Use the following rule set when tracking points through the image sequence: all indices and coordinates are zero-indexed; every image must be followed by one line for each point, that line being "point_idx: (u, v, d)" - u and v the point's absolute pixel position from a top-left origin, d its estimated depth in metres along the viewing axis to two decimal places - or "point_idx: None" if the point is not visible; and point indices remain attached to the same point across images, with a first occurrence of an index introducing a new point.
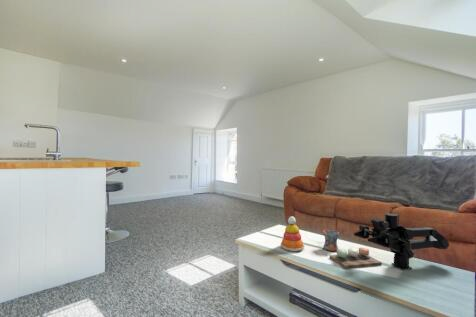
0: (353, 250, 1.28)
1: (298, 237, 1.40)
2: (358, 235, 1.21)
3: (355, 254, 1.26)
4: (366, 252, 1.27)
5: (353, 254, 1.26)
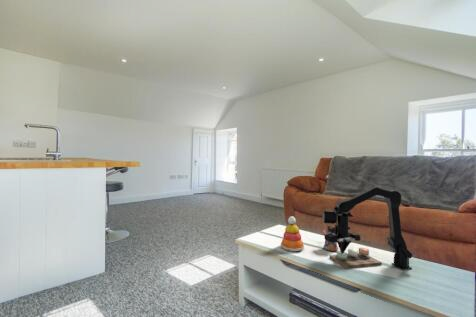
0: (353, 250, 1.28)
1: (298, 237, 1.40)
2: None
3: (355, 254, 1.26)
4: (366, 252, 1.27)
5: (353, 254, 1.26)
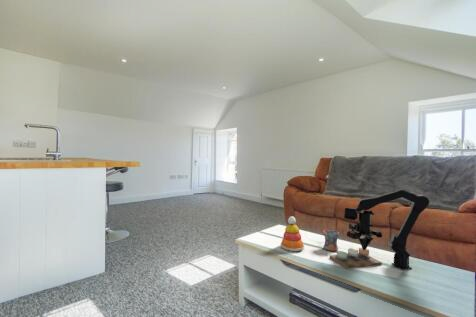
0: (353, 250, 1.28)
1: (298, 237, 1.40)
2: None
3: (355, 254, 1.26)
4: (366, 253, 1.27)
5: (353, 254, 1.26)
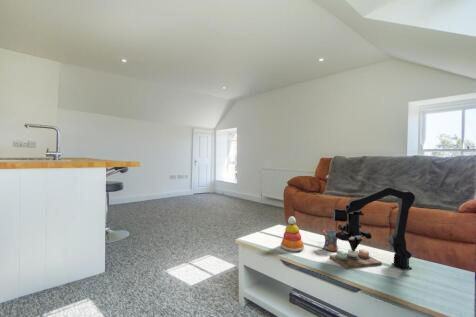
0: (353, 251, 1.28)
1: (298, 237, 1.40)
2: None
3: (355, 255, 1.26)
4: (366, 254, 1.27)
5: (353, 255, 1.26)
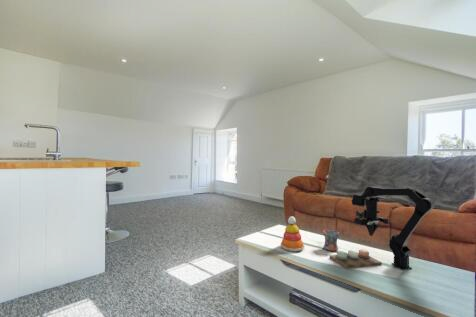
0: (353, 252, 1.28)
1: (298, 237, 1.40)
2: None
3: (355, 256, 1.26)
4: (366, 254, 1.27)
5: (353, 256, 1.26)
